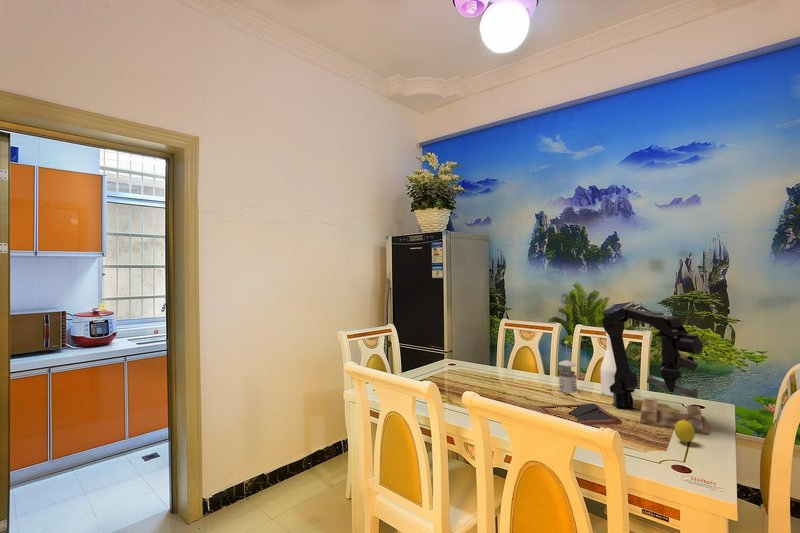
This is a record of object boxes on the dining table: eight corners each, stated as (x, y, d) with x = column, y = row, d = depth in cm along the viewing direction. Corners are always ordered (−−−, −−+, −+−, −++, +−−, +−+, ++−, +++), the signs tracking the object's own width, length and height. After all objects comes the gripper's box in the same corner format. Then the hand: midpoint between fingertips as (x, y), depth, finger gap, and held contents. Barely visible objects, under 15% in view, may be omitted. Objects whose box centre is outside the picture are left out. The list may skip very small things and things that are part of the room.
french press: (557, 394, 192) (555, 342, 192) (557, 387, 203) (555, 338, 203) (579, 395, 188) (577, 343, 188) (578, 388, 199) (576, 338, 199)
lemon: (695, 448, 132) (695, 423, 132) (675, 444, 135) (674, 420, 135) (694, 441, 137) (693, 418, 137) (674, 438, 140) (673, 415, 140)
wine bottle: (616, 391, 194) (614, 329, 194) (628, 397, 184) (625, 332, 185) (597, 391, 193) (595, 330, 194) (608, 398, 184) (605, 333, 184)
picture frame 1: (594, 407, 174) (538, 410, 173) (594, 403, 174) (538, 405, 173) (621, 425, 154) (558, 428, 153) (621, 420, 154) (558, 423, 153)
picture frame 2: (646, 382, 155) (647, 377, 154) (647, 379, 159) (648, 374, 158) (696, 398, 146) (698, 392, 146) (696, 394, 150) (697, 389, 150)
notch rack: (639, 423, 154) (639, 410, 154) (642, 409, 168) (641, 398, 168) (708, 434, 142) (707, 420, 142) (705, 419, 156) (704, 406, 156)
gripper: (697, 356, 140) (699, 400, 140) (695, 347, 155) (696, 387, 155) (659, 353, 146) (661, 395, 146) (660, 344, 162) (662, 383, 162)
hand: (671, 390), depth 152 cm, fingers closed on picture frame 2, 5 cm apart
